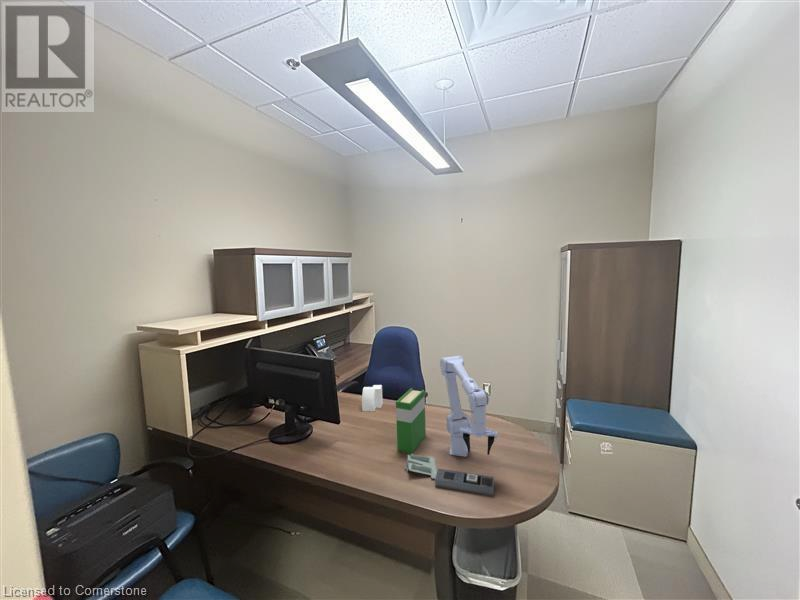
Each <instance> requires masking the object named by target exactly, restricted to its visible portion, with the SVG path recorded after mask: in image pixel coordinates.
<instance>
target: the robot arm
mask: <svg viewBox="0 0 800 600" xmlns="http://www.w3.org/2000/svg"><path fill="white" fill-rule="evenodd" d="M439 367H440V373H441V375H442V376H443V377H444V379H445V385H446V388H447V395H448V400H449V401H448V402H449V406H450V412H449V414H448V415H447V416H446V430H447V432H448V433H449V435H450V449H449V453H448V454H449V455H450V456H451V455H452V456H458V457H463V458H464V457H465V458H466V457H468V453H471V436H474V437H476V438H482V437H487V456H489V455H490V453H491V452H490V451H491V448H492V446H493V445H494V442H495V439H498V431H494V430H490V429H487V421H486V420H487V418H486V417H487V416H486V415H487V407H486V406H487V405H488V404H489V403H490V399H489V395H488V393H487V391H486V390H485V389H482V388H480V386H479V385H478V384H477V382H476V381H475V379H474V378H473V377H470V376H469V374H468V372H467V371H466V368H465V361H464V358H463V357H462V355H460V354H459V355H455V356H447V357H446V356H444V357H443V356H442V357H441V358H440V362H439ZM457 377H458V379H460V381H461V382H462V383H461V386H462V389H463V390H464V392H465V393H466V395H467V396H468V397H467V400H468V404H469V409H470V411H471V412H470V416H471V417H470V419H469V415H468V414H467V413H466V412H464V411H463V409H462V404H461V399H460V394H459V388H458V383H457Z"/></svg>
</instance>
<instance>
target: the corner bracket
mask: <svg viewBox="0 0 800 600" xmlns="http://www.w3.org/2000/svg"><path fill="white" fill-rule="evenodd" d="M383 401H384V399H383V385H382V384H373V385H372V386H364V387H363V388H362V394H361V411H362V412H375V411H376V409H382V406H383Z"/></svg>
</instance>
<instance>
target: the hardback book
mask: <svg viewBox="0 0 800 600" xmlns="http://www.w3.org/2000/svg"><path fill="white" fill-rule="evenodd" d="M425 395H426V394H425V389H422V390H421V391H420V390H414V389H413V388H412V387H410V388H409V389H408V390H407V391H406V392H405V393H404V394H402V396H400V397H398V399H397V400H396V401H395V411H396V412H395V416H396V440H397V443H396V444H397V446H396V447H397V452H402V453H407V454H409V455H411V454H414V452H415V450H416V449H417V448H418V446H419V445H420V444H421V443H422V441H423V440H424V438H425V437H426V436H427V433H426V432H427V431H426V430H427V429H426V427H427V426H426V398H425V397H426V396H425Z"/></svg>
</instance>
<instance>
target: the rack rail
mask: <svg viewBox="0 0 800 600" xmlns="http://www.w3.org/2000/svg"><path fill="white" fill-rule="evenodd" d="M467 473H468V472H463V471H457V470H450V469H443V468H437V474H436V478H435V479H434V486H435V487H437V488H443V489H449V490H453V491H454V490H455V491H459V492H465V493H466V492H467V493H470V494H471V493H472V494H476V495H477V494H478V495H483V496H489V497H494V487H495V486H494V485H495V483H494V481H495V480H494V479H495V478H494V476H489V475H483V474H477V473H474V474H475V475H478V485H475V484H469V483H466V479H467ZM468 474H472V473H470V472H469V473H468Z"/></svg>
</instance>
